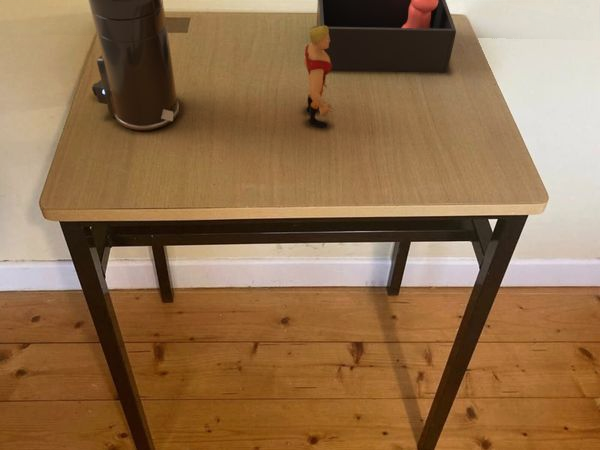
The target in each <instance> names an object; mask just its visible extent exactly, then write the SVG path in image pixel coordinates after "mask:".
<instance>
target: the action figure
mask: <svg viewBox="0 0 600 450" xmlns="http://www.w3.org/2000/svg"><path fill="white" fill-rule="evenodd" d="M309 38H310V41H311V43H308V44H307V45H306V46H305V49H304V57H303V64H304V66H305V68H306V70H307V71H308V82H309V94H308V95H307V107H306V112H307V113H309V119H308V124H309V125H311V126H314V127H319V128H327V127H328V122H326V121H322V120H318V119H317V118H316V116H317V113H318V111H319V112H320V113H319V116H321V117H322V116H325V115H326V116H329V112H330V113H333V110H332V109H331V108H330V107H331V105H332V104H331V102H324V100H323V98H322V96H323V93H324V92H323V91H324V87H325V88H327V87H328V85H327V84H326V83H327V81H326V77H327V75H328V74H330V72H331V71H332V70H331V67H332V64H331V63H330V60H331V59H330V57H329V56H328V54H327V53H326V52H325V50H323V49H327V48H328V47H329V42H330V38H329V30H328V27H327V26H325V25H324V26H320V27H313V28H312V29H311V30H310V31H309Z"/></svg>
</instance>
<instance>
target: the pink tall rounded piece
mask: <svg viewBox="0 0 600 450" xmlns="http://www.w3.org/2000/svg"><path fill="white" fill-rule="evenodd" d="M437 5H438V0H411V4H410V6H409V11H408V20H407V23H406V24H404V25H403V26H402V28H429V29H431V28H430V21H431V11H433V10H434V9H435V8H436V7H437Z"/></svg>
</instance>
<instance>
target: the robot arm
mask: <svg viewBox="0 0 600 450" xmlns="http://www.w3.org/2000/svg"><path fill="white" fill-rule="evenodd" d="M88 4H89V8H90V10H91V17H92V20H93V24H94V28H95V33H96V37H97V41H98V45H99V50H100V56H98V57H97V59H96V64H97V68H98V72H99V76H100V80H99V81H98V82H95V83H93V85H92V86H91V90H92V93H93V95H94V96H95V97H96V98H97V102H98V103H99V104H104V105H107V110H108V114H109V117H111V118H114V119H115V120H116V121H117V122H118V124H119V125H121V126H123V127H124V128H126V129H129V130H134V131H153V130H157V129H160V128H163V127H165V126H167V125H169V124H170V123H172V122H173V121H174V120H175V119H176V118H177V116H178V115H179V113H180V106H179V100H178V97H177V89H176V82H175V81H176V80H175V74H174V68H173V60H172V54H171V47H170V40H169V32H168V27H167V26H168V25H167V19H166V12H165V6H164V0H88Z"/></svg>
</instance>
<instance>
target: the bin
mask: <svg viewBox="0 0 600 450" xmlns="http://www.w3.org/2000/svg"><path fill="white" fill-rule="evenodd" d="M410 4H411V0H317V5H316V6H317V7H316V27H320V26H324V25H325V26H327V27H328V30H329V38H330V42H329V47H328V48H327V49H323V50H325V52H326V53H327V54H328V56H329V57H330V59H331V60H330V63H331V64H332V67H331V70H330V71H338V72H340V71H341V72H343V71H344V72H347V71H348V72H399V73H401V72H403V73H405V72H407V73H408V72H409V73H410V72H411V73H448V70H449V65H450V60H451V56H452V53H453V47H454V43H455V39H456V34H457V29H456V26H455V23H454V20H453V17H452V14H451V11H450V9H449V6H448V3H447V0H438V5H437V7H436V8H435V9H434V10H433V11H431V21H430V28H431V29H429V28H402V26H403V25H404V24H406V23H407V20H408V11H409V6H410Z"/></svg>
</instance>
